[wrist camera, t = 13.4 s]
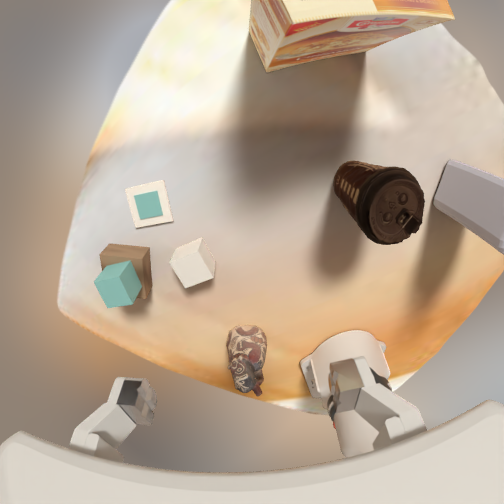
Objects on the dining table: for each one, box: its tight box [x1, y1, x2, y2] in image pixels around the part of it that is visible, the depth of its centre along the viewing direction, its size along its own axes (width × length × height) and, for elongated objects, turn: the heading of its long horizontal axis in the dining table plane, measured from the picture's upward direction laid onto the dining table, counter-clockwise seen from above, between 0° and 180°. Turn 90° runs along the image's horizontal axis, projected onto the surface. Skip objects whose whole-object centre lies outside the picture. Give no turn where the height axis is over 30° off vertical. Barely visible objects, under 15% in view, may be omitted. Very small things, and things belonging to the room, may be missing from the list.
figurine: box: [227, 325, 267, 396], centre depth 43 cm, size 7×7×12 cm
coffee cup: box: [334, 161, 425, 245], centre depth 30 cm, size 9×8×13 cm
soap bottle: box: [433, 160, 504, 254], centre depth 25 cm, size 9×9×25 cm
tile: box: [125, 180, 173, 228], centre depth 37 cm, size 6×6×1 cm
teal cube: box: [94, 260, 142, 308], centre depth 36 cm, size 4×4×4 cm
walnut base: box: [100, 244, 152, 299], centre depth 40 cm, size 7×7×4 cm
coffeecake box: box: [249, 0, 455, 73], centre depth 18 cm, size 15×7×20 cm, turn 110°
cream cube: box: [169, 237, 216, 288], centre depth 39 cm, size 4×4×4 cm
